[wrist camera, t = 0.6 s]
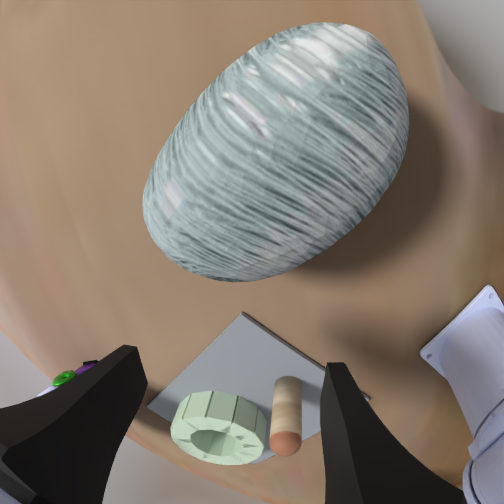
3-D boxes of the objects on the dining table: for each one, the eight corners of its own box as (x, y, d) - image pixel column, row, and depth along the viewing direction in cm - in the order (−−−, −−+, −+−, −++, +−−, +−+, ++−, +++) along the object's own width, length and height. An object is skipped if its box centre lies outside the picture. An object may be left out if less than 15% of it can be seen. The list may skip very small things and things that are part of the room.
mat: (368, 396, 23) (369, 400, 23) (255, 461, 29) (254, 464, 28) (242, 311, 21) (241, 314, 21) (147, 404, 27) (146, 407, 26)
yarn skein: (250, 324, 18) (166, 348, 8) (167, 206, 20) (63, 141, 10) (421, 182, 16) (487, 83, 7) (320, 87, 19) (307, -29, 9)
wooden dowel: (307, 384, 23) (308, 453, 16) (288, 397, 23) (285, 464, 17) (287, 371, 22) (283, 443, 16) (268, 385, 23) (261, 454, 17)
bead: (283, 420, 25) (282, 446, 22) (231, 449, 27) (227, 471, 25) (209, 377, 23) (200, 404, 21) (165, 414, 26) (156, 436, 24)
